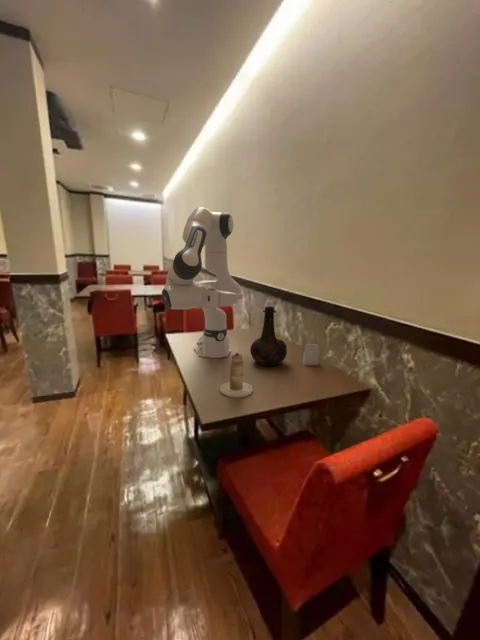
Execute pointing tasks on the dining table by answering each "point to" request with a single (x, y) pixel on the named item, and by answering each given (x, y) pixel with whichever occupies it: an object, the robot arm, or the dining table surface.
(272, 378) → the dining table surface
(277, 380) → the dining table surface
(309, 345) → the white box
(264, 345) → the glass bottle
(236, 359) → the pepper mill
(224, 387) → the cream plate
